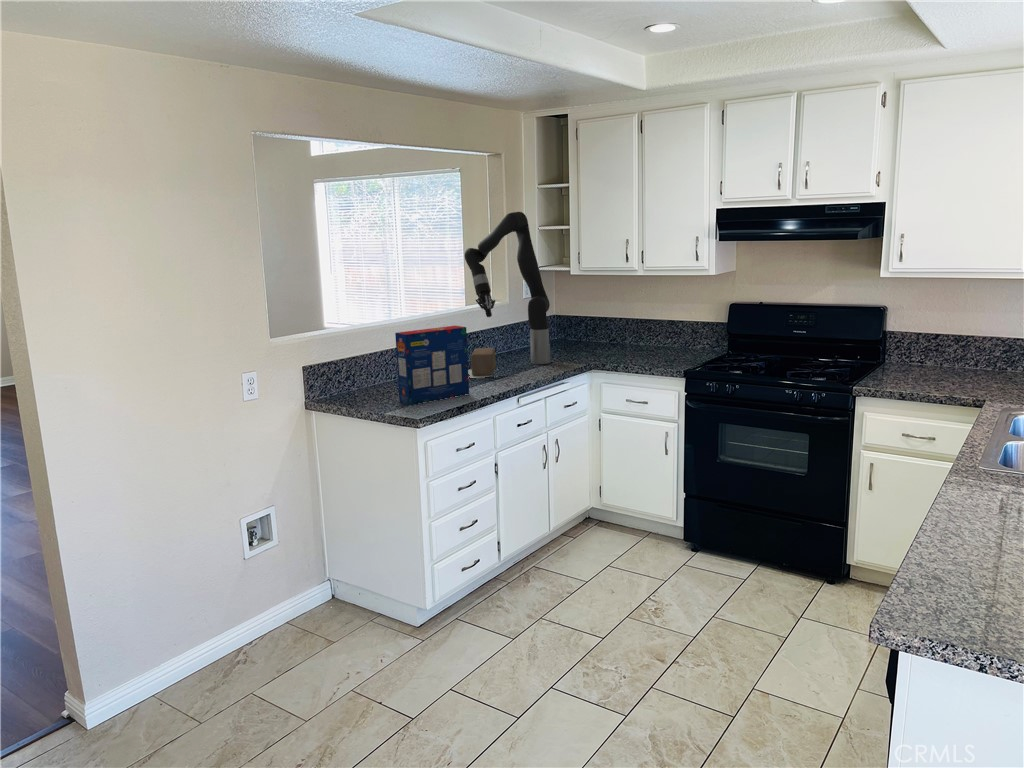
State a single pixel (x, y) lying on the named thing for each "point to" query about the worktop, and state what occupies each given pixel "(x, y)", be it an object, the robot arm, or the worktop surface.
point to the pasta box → (432, 364)
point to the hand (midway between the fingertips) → (489, 316)
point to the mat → (477, 376)
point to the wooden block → (483, 361)
